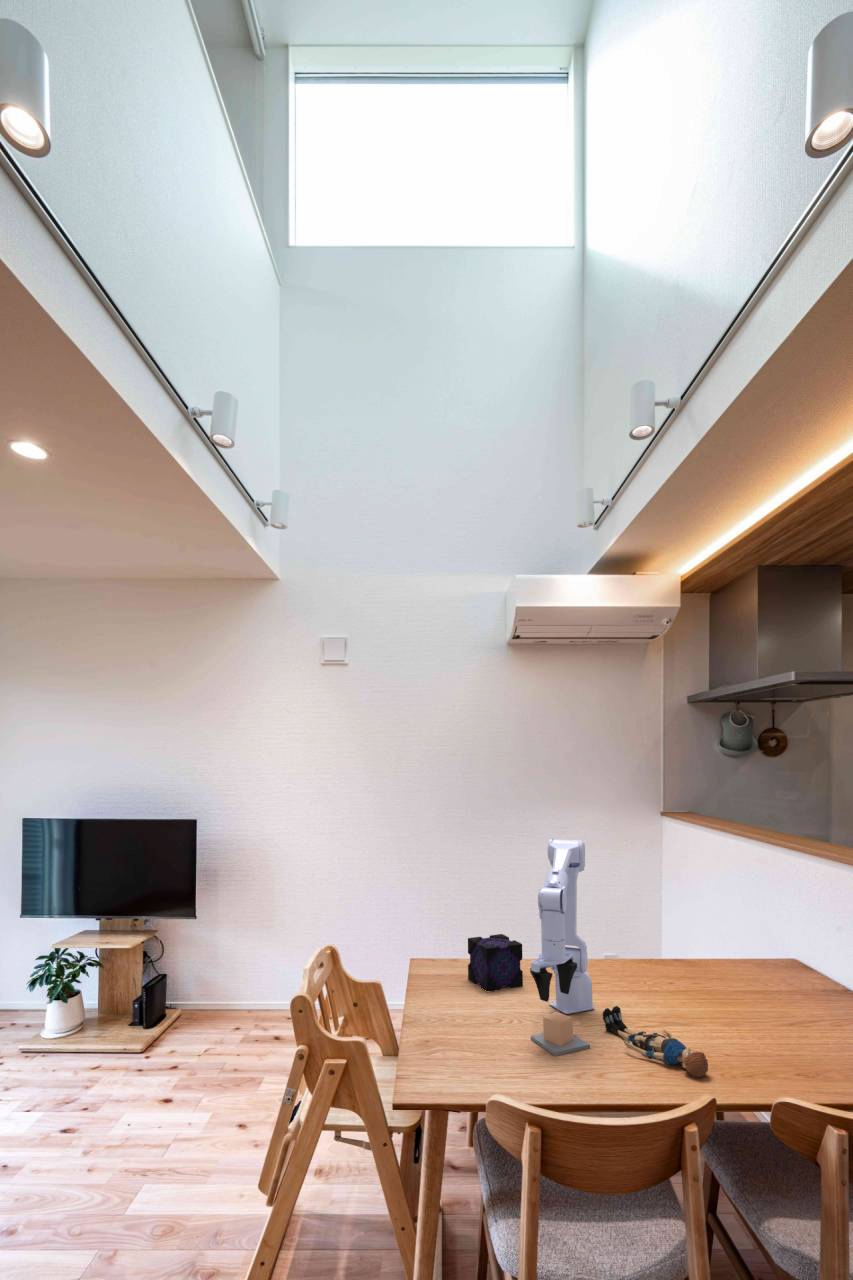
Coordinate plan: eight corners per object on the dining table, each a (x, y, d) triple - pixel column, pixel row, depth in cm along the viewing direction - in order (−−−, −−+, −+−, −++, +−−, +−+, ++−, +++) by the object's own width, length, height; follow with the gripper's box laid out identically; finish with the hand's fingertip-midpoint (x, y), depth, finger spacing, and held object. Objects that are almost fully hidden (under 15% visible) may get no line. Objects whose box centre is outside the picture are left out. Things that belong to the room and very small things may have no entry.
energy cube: (486, 992, 205) (486, 948, 206) (468, 979, 216) (467, 938, 217) (522, 986, 209) (522, 943, 211) (502, 974, 220) (502, 933, 222)
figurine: (630, 1001, 182) (724, 1042, 156) (632, 1028, 181) (727, 1073, 155) (589, 1011, 176) (680, 1055, 150) (591, 1038, 176) (682, 1087, 149)
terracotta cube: (556, 1033, 174) (555, 1011, 174) (573, 1039, 170) (572, 1017, 171) (543, 1039, 170) (543, 1017, 171) (560, 1045, 167) (560, 1023, 167)
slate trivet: (564, 1032, 176) (564, 1028, 176) (590, 1048, 167) (590, 1044, 167) (530, 1039, 172) (530, 1036, 172) (555, 1055, 163) (554, 1052, 163)
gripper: (559, 929, 183) (560, 985, 181) (521, 940, 174) (522, 999, 172) (581, 935, 178) (583, 993, 176) (543, 946, 168) (544, 1007, 167)
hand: (554, 996), depth 173 cm, fingers open, 7 cm apart
